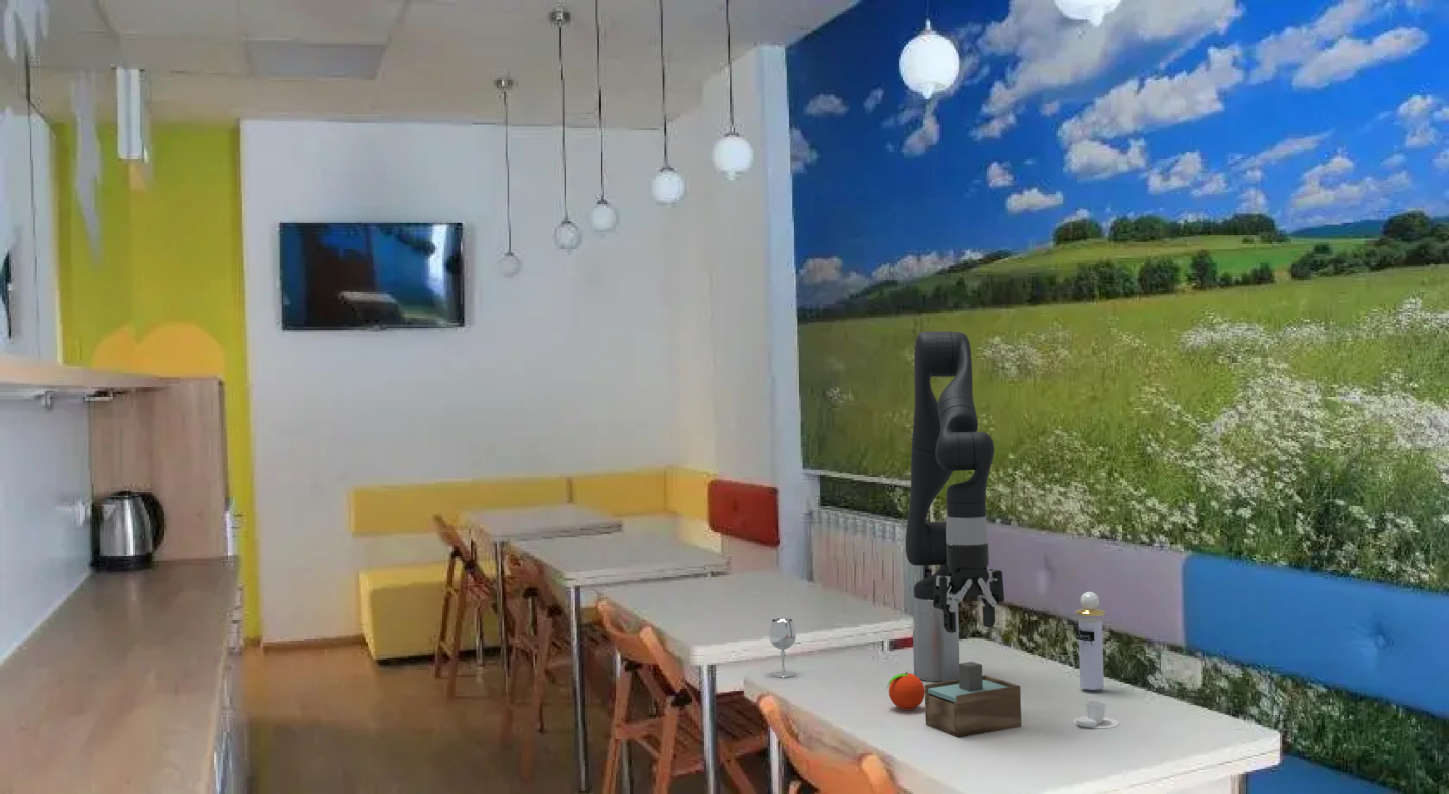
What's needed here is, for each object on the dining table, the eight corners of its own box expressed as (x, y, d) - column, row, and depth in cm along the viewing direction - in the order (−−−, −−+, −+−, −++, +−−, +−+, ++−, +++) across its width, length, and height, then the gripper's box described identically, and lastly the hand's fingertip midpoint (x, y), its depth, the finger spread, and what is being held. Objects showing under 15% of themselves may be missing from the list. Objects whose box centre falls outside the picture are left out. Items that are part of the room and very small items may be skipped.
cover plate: (928, 693, 226) (927, 664, 226) (984, 683, 231) (984, 655, 231) (956, 703, 218) (955, 673, 218) (1014, 693, 224) (1013, 664, 224)
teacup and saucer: (1084, 733, 220) (1084, 710, 220) (1061, 722, 227) (1060, 700, 227) (1127, 728, 222) (1127, 706, 222) (1103, 717, 230) (1102, 695, 230)
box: (925, 724, 226) (924, 684, 226) (986, 714, 232) (985, 675, 232) (959, 738, 217) (957, 696, 217) (1021, 726, 223) (1020, 685, 223)
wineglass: (779, 670, 273) (778, 617, 273) (801, 673, 269) (800, 619, 269) (765, 676, 268) (763, 621, 268) (787, 679, 265) (786, 623, 265)
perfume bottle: (1087, 685, 252) (1084, 588, 252) (1112, 690, 248) (1110, 591, 248) (1071, 690, 248) (1068, 592, 248) (1096, 695, 244) (1094, 595, 244)
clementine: (897, 716, 233) (896, 679, 232) (877, 708, 239) (876, 672, 239) (932, 710, 236) (931, 674, 236) (912, 702, 242) (911, 667, 242)
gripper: (985, 536, 231) (987, 622, 231) (923, 542, 225) (925, 630, 225) (1011, 539, 224) (1013, 628, 224) (947, 545, 218) (950, 637, 218)
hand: (969, 629), depth 225 cm, fingers open, 8 cm apart
